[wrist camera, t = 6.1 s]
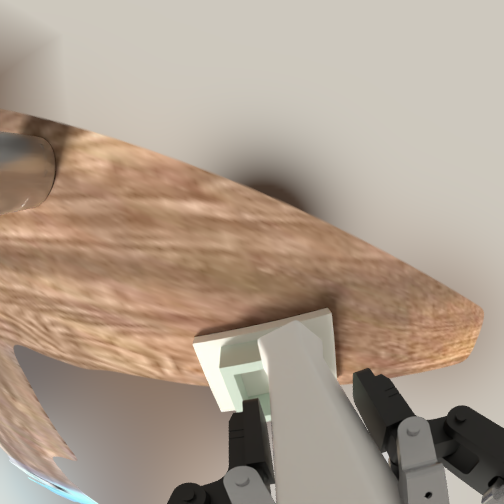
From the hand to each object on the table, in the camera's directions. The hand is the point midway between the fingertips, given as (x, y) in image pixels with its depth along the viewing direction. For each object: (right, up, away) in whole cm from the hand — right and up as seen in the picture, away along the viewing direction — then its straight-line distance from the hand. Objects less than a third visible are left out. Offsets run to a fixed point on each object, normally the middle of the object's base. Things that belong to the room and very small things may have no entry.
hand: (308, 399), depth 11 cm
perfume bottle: (-1, +1, +4) cm, 5 cm away
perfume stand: (0, -7, +21) cm, 22 cm away
